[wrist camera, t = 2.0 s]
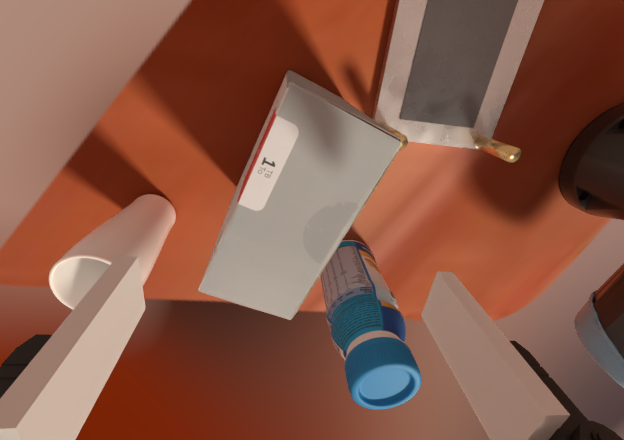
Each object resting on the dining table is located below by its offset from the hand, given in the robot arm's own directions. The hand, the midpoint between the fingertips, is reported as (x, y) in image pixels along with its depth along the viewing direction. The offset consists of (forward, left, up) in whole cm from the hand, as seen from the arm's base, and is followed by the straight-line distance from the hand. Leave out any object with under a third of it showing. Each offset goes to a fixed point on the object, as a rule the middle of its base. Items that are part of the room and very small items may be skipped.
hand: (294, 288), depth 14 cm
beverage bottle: (-10, +16, -26) cm, 33 cm away
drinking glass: (+16, +10, -26) cm, 32 cm away
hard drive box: (0, 0, -27) cm, 27 cm away
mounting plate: (-17, -13, -26) cm, 34 cm away
